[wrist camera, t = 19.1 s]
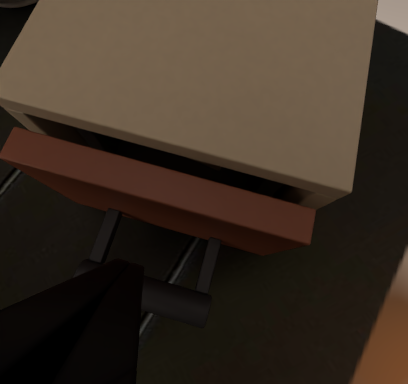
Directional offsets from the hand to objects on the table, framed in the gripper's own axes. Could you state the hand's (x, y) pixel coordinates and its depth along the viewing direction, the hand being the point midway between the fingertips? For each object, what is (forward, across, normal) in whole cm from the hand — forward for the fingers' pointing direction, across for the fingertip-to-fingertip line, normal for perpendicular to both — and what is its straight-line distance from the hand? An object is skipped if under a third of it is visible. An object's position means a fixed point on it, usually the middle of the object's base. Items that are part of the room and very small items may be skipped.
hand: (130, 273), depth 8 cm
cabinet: (+13, 0, +2) cm, 13 cm away
